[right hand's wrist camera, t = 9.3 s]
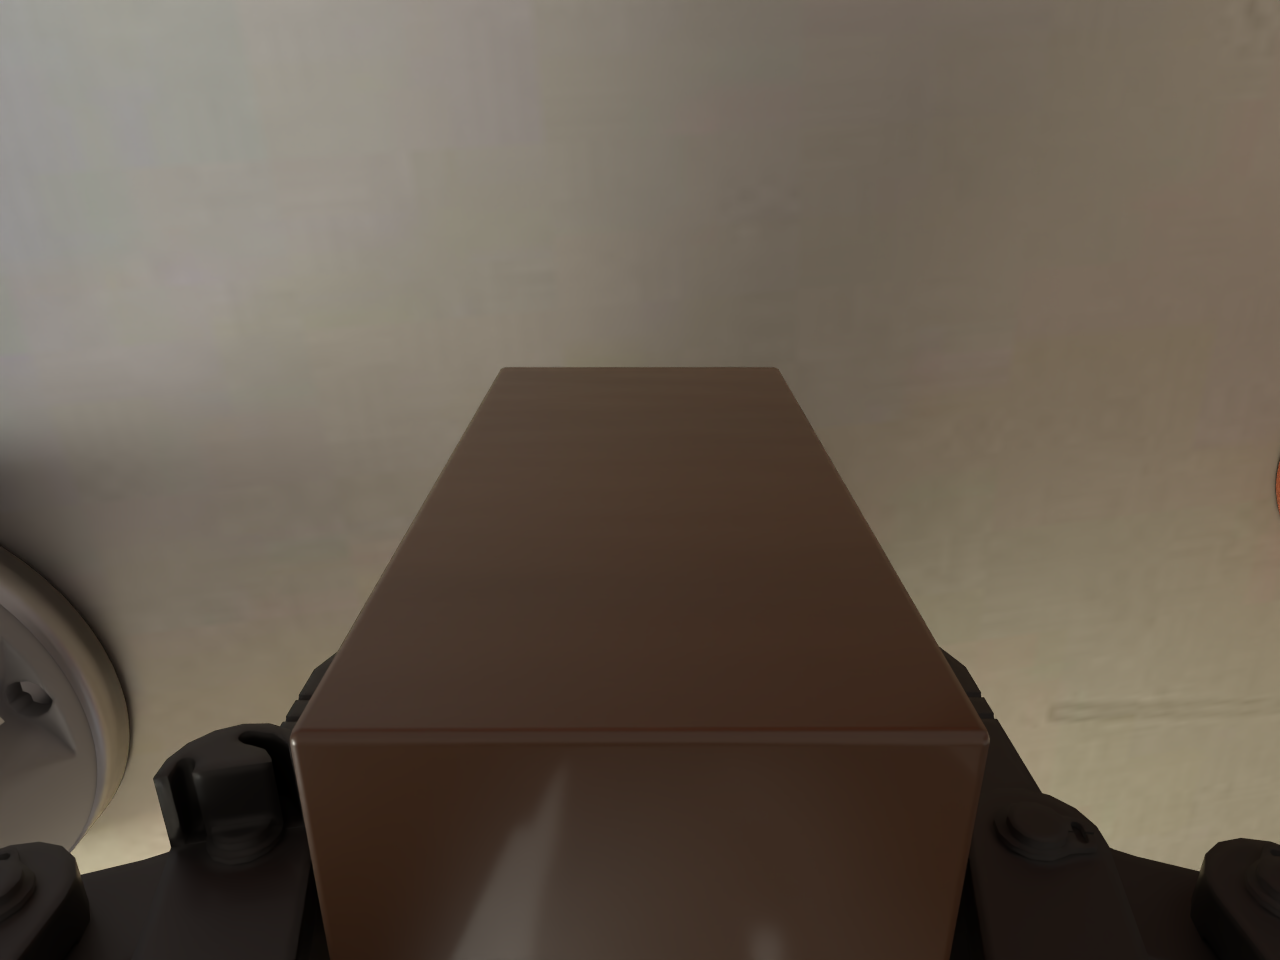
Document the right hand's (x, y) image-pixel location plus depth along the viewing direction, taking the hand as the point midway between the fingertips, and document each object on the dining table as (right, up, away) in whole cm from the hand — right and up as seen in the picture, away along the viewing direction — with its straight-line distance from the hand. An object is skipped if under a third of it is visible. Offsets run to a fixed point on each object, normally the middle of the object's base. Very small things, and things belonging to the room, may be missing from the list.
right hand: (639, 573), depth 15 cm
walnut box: (0, -9, +4) cm, 10 cm away
